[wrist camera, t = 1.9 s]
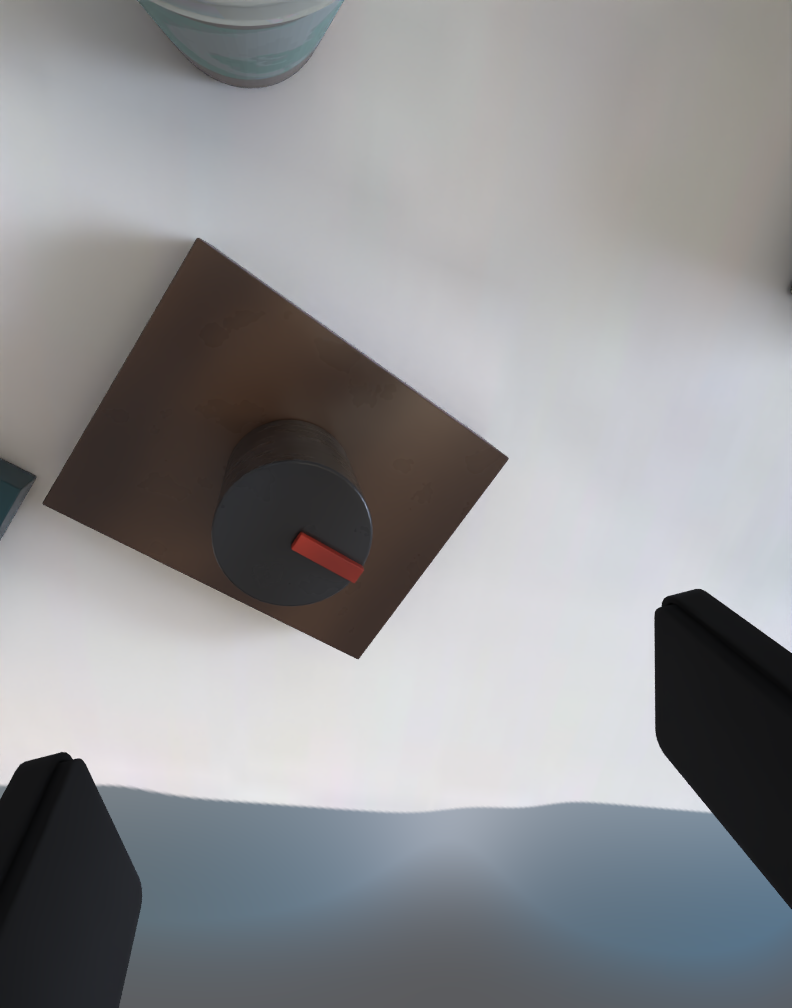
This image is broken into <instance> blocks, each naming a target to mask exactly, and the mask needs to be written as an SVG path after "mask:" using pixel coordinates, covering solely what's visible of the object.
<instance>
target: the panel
mask: <svg viewBox="0 0 792 1008" xmlns="http://www.w3.org/2000/svg"><path fill="white" fill-rule="evenodd" d="M278 420H300V421H304V422H308V423H311V424H314V425H316V426H318V427H320V428H322V429H324V430H325V431H327V432H328V433H329V434H331V435H332V436H333V437H334V438H335V439H336V440H337V441H338V442H339V443H340V445H341V446H342V447H343V449H344V451H345V452H346V454H347V457H348V459H349V461H350V464H351V466H352V469H353V471H354V474H355V476H356V479H357V481H358V483H359V486H360V488H361V491H362V493H363V496H364V498H365V501H366V503H367V506H368V508H369V511H370V515H371V518H372V526H373V537H372V543H371V548H370V551H369V555H368V557H367V559H366V561H365V564H364V565H363V568H364V571H363V573H362V574H361V575H360V577H359V578H358V579H357V581H356V582H355V583H352V582H350V583H349V584H348V585H347V586H346V587H345V588H343V589H342V590H341V591H339V592H338V593H336V594H334V595H333V596H331V597H329V598H327V599H324V600H322V601H319V602H316V603H313V604H308V605H302V606H279V605H273V604H269V603H265V602H262V601H259V600H257V599H255V598H252V597H251V596H249V595H247V594H245V593H244V592H242V591H241V590H240V589H238V588H237V587H236V586H235V585H234V584H233V583H232V582H231V581H230V580H229V579H228V578H227V577H226V575H225V574H224V573H223V571H222V570H221V568H220V566H219V564H218V562H217V560H216V557H215V555H214V551H213V546H212V538H211V531H212V522H213V518H214V513H215V510H216V506H217V502H218V498H219V494H220V490H221V486H222V482H223V478H224V474H225V471H226V467H227V463H228V460H229V458H230V455H231V453H232V451H233V450H234V448H235V447H236V445H237V444H238V443H239V441H240V440H241V439H242V438H243V437H244V436H245V435H247V434H248V433H249V432H251V431H252V430H254V429H255V428H257V427H259V426H261V425H264V424H266V423H269V422H273V421H278ZM508 459H509V458H508V457H507V456H506V455H504V454H503V453H502V452H500V451H499V450H498V449H496V448H495V447H494V446H493V445H491V444H490V443H489V442H487V441H486V440H485V439H483V438H482V437H480V436H479V435H478V434H476V433H475V432H473V431H472V430H471V429H469V428H468V427H466V426H465V425H464V424H462V423H461V422H459V421H458V420H457V419H455V418H454V417H452V416H451V415H449V414H448V413H447V412H445V411H444V410H442V409H441V408H440V407H438V406H437V405H435V404H434V403H433V402H431V401H430V400H428V399H427V398H426V397H424V396H423V395H421V394H420V393H419V392H417V391H416V390H414V389H413V388H412V387H410V386H409V385H407V384H406V383H404V382H403V381H402V380H400V379H399V378H397V377H396V376H395V375H393V374H392V373H390V372H389V371H388V370H386V369H385V368H383V367H382V366H381V365H379V364H378V363H376V362H375V361H374V360H372V359H371V358H369V357H368V356H367V355H365V354H364V353H362V352H361V351H359V350H358V349H357V348H355V347H354V346H352V345H351V344H350V343H348V342H347V341H345V340H344V339H343V338H341V337H340V336H338V335H337V334H336V333H334V332H333V331H331V330H330V329H329V328H327V327H326V326H324V325H323V324H322V323H320V322H319V321H317V320H316V319H315V318H313V317H312V316H310V315H309V314H307V313H306V312H305V311H303V310H302V309H300V308H299V307H298V306H296V305H295V304H293V303H292V302H291V301H289V300H288V299H286V298H285V297H284V296H282V295H281V294H279V293H278V292H277V291H275V290H274V289H272V288H271V287H270V286H268V285H267V284H265V283H264V282H262V281H261V280H260V279H258V278H257V277H255V276H254V275H253V274H251V273H250V272H248V271H247V270H246V269H244V268H243V267H241V266H240V265H239V264H237V263H236V262H234V261H233V260H232V259H230V258H229V257H227V256H226V255H225V254H223V253H222V252H220V251H219V250H217V249H216V248H215V247H213V246H212V245H210V244H209V243H207V242H206V241H204V240H202V239H200V238H197V239H196V240H195V242H194V244H193V246H192V247H191V249H190V251H189V253H188V254H187V256H186V258H185V259H184V261H183V263H182V265H181V266H180V268H179V270H178V271H177V273H176V275H175V277H174V278H173V280H172V282H171V283H170V285H169V287H168V289H167V290H166V292H165V294H164V295H163V297H162V299H161V301H160V302H159V304H158V306H157V307H156V309H155V311H154V313H153V314H152V316H151V318H150V319H149V321H148V323H147V325H146V326H145V328H144V330H143V331H142V333H141V335H140V337H139V338H138V340H137V342H136V343H135V345H134V347H133V349H132V350H131V352H130V354H129V355H128V357H127V359H126V361H125V362H124V364H123V366H122V368H121V369H120V371H119V373H118V374H117V376H116V378H115V380H114V381H113V383H112V385H111V386H110V388H109V390H108V392H107V393H106V395H105V397H104V398H103V400H102V402H101V404H100V405H99V407H98V409H97V410H96V412H95V414H94V416H93V417H92V419H91V421H90V422H89V424H88V426H87V428H86V429H85V431H84V433H83V434H82V436H81V438H80V440H79V441H78V443H77V445H76V446H75V448H74V450H73V452H72V453H71V455H70V457H69V458H68V460H67V462H66V464H65V465H64V467H63V469H62V470H61V472H60V474H59V476H58V477H57V479H56V481H55V483H54V484H53V486H52V488H51V489H50V491H49V493H48V495H47V496H46V498H45V500H44V501H43V505H45V506H47V507H49V508H51V509H53V510H55V511H57V512H60V513H62V514H64V515H66V516H68V517H70V518H72V519H74V520H76V521H78V522H80V523H82V524H84V525H86V526H88V527H90V528H92V529H94V530H96V531H98V532H100V533H102V534H104V535H106V536H108V537H110V538H112V539H114V540H116V541H118V542H120V543H123V544H125V545H127V546H129V547H131V548H133V549H135V550H137V551H139V552H141V553H143V554H145V555H147V556H149V557H151V558H153V559H155V560H157V561H159V562H161V563H163V564H165V565H167V566H169V567H171V568H173V569H175V570H177V571H179V572H181V573H183V574H185V575H188V576H190V577H192V578H194V579H196V580H198V581H200V582H202V583H204V584H206V585H208V586H210V587H212V588H214V589H216V590H218V591H220V592H222V593H224V594H226V595H228V596H230V597H232V598H234V599H236V600H238V601H240V602H242V603H244V604H246V605H248V606H251V607H253V608H255V609H257V610H259V611H261V612H263V613H265V614H267V615H269V616H271V617H273V618H275V619H277V620H279V621H281V622H283V623H285V624H287V625H289V626H291V627H293V628H295V629H297V630H299V631H301V632H303V633H305V634H307V635H309V636H311V637H313V638H316V639H318V640H320V641H322V642H324V643H326V644H328V645H330V646H332V647H334V648H336V649H338V650H340V651H342V652H344V653H346V654H348V655H350V656H352V657H354V658H356V659H359V658H360V657H361V655H362V654H363V653H364V651H365V650H366V649H367V647H368V646H369V645H370V643H371V642H372V641H373V639H374V638H375V637H376V635H377V634H378V633H379V631H380V630H381V629H382V627H383V626H384V625H385V623H386V622H387V621H388V619H389V618H390V617H391V615H392V614H393V613H394V611H395V610H396V609H397V607H398V606H399V605H400V603H401V602H402V601H403V599H404V598H405V597H406V595H407V594H408V593H409V591H410V590H411V589H412V587H413V586H414V585H415V583H416V582H417V581H418V579H419V578H420V577H421V575H422V574H423V573H424V571H425V570H426V569H427V567H428V566H429V565H430V563H431V562H432V561H433V559H434V558H435V557H436V555H437V554H438V553H439V551H440V550H441V549H442V547H443V546H444V545H445V543H446V542H447V541H448V539H449V538H450V537H451V535H452V534H453V533H454V531H455V530H456V529H457V527H458V526H459V525H460V523H461V522H462V521H463V519H464V518H465V517H466V515H467V514H468V513H469V511H470V510H471V509H472V507H473V506H474V505H475V503H476V502H477V501H478V499H479V498H480V497H481V495H482V494H483V493H484V491H485V490H486V489H487V487H488V486H489V485H490V483H491V482H492V481H493V479H494V478H495V477H496V475H497V474H498V473H499V471H500V470H501V469H502V467H503V466H504V465H505V463H506V462H507V461H508Z"/></svg>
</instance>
